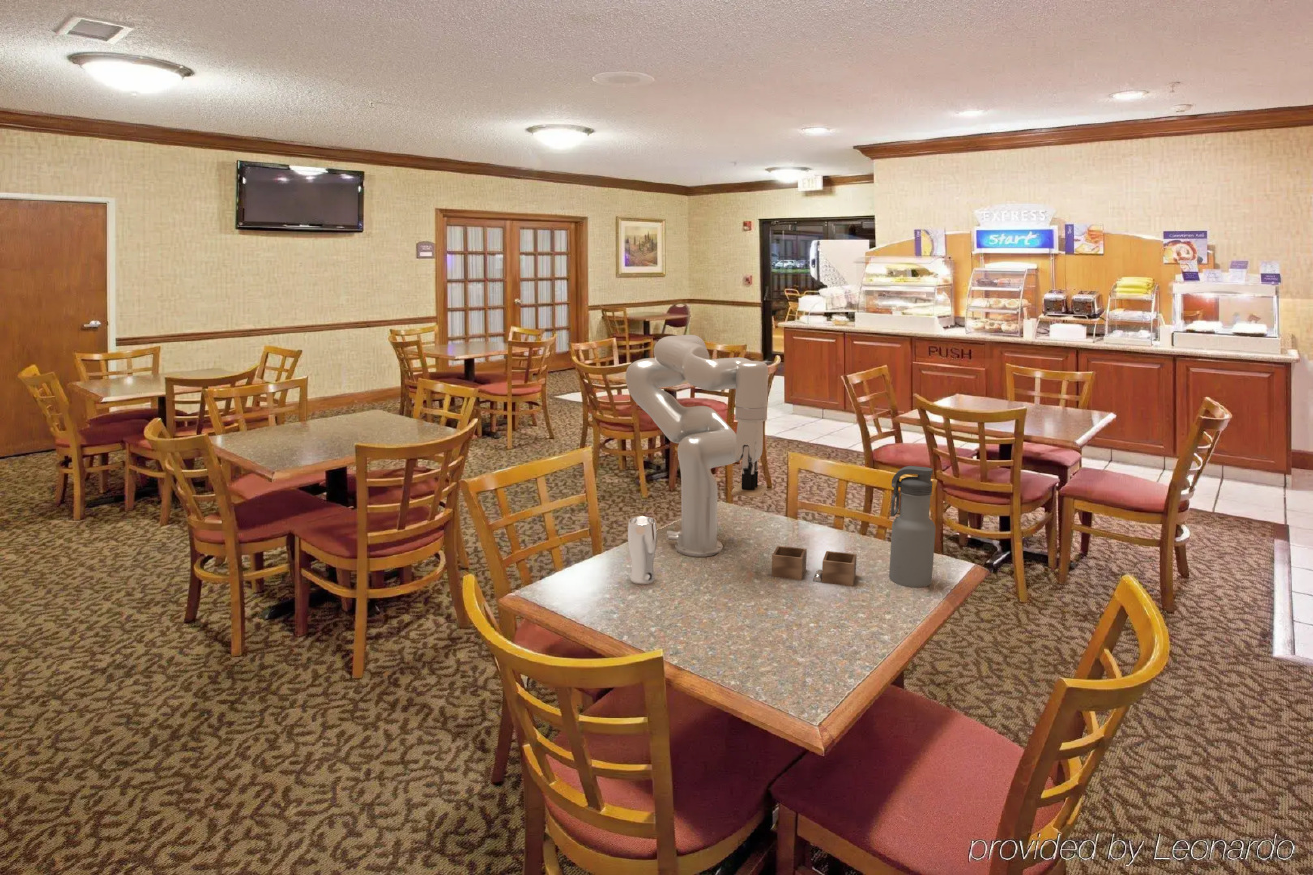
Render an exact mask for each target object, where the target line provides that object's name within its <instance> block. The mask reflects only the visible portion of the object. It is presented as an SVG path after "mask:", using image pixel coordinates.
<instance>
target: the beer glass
mask: <svg viewBox="0 0 1313 875" xmlns="http://www.w3.org/2000/svg"><path fill="white" fill-rule="evenodd" d="M627 526H628V527H627V546H628V552H629V556H630V563H631V573H630V577H629V581H630V582H631V583H633V584H636V585H649V584H652V583H654V582H655V581H656V575H655V569H654V563H655V558H656V557H655V556H656V550H657V544H658V533H657V531H658V530H657V520H656V519H655V518H654V517H650V516H634V517H631V518H629V520H628V525H627Z"/></svg>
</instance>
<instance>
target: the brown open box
mask: <svg viewBox="0 0 1313 875" xmlns="http://www.w3.org/2000/svg"><path fill="white" fill-rule="evenodd" d="M807 551H808V548H803V547H794V546H784V545H777V546H776V548H775V550H774V551H773V553H772V555H771V577H772V578H774V577H775V578H779V579H780V578H781V579H789V580H797V581H802V580H803V578H804V575H805V573H806V571H807V553H808V552H807Z"/></svg>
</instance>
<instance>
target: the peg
mask: <svg viewBox="0 0 1313 875" xmlns="http://www.w3.org/2000/svg"><path fill="white" fill-rule="evenodd" d="M812 582H815V583H816V582H817V583H822V569H817V570H816V572H815V574H814V577H813V580H812Z"/></svg>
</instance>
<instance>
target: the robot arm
mask: <svg viewBox="0 0 1313 875" xmlns="http://www.w3.org/2000/svg"><path fill="white" fill-rule="evenodd" d="M653 356H654V357H648V358H647V357H646V358H641V359H638V360H635V361H633V362H632V363H631V364H629V365H628V367H627V368H626V372H625V382H626V387H627V388H626V389H627V390H628V392H629V395H630V397H631V398H632V399H633V401H634V402H635V403H636V404H637V405H638V406H639V408H641V409H642V411H644V412H645V413H646V414H647V415H648V416H649V417H650V418H651V419H652V421H653V422H654V424H655V425H656V426H657V427H658V428H659V429H660V431H661V432H662V433H663V435H665V437H666V438H667V439H668V440H669V441H670V442H672V443H673V444H674V443H675V444H678V445H677V458H678V463H679V468H680V478H681V480H680V481H681V482H680V483H681V485H680V486H681V489H680V490H681V492H680V493H681V498H680V500H681V502H680V504H681V512H680V513H681V517H680V518H681V519H680V520H681V521H680V522H681V530H678V531H674V530H667V531H666V537H667V538H668V540H669V541H676V543H675V550H676V552H678V553H680V554H681V555H685V556H688V557H699V558H701V557H703V558H704V557H705V558H706V557H711V556H714V555H715V556H716V555H718V554H719V553H720V552H722V551H723V546H724V545H723V543H721V541H719V540H718V483H717V480H716V478H715V477H714V475H713V473H712V471H711V469H714V468H718V467H724V466H729V465H733V464H734V463H736V462H737V463H739V462H740V461H741V460H742V462H741V464H742V465H741V484H742V489H743V490H755V487H757V486H758V485H759V471H758V470H759V459H761V456H762V455H763V448H764V444H763V443H764V422H767V420H768V396H769V395H768V393H769V392H768V387H769V367H768V364H767V363H766V362H764V361H760V360H750V359H748V358H746V357H739V356H737V357H724V358H712V359H710V358H711V357H710V353H709V351H708V349H707V345H706V343H705V341H704V340H703V339H702V337H700V336H698V335H695V334H683V335H682V334H678V335H668V336H664V337H662V338H660V339H659V340H658V341H657V342H656V343H655V345H654V348H653ZM685 382H687V383H688V384H690V386H694V387H696V388H698V389H702V390H703V391H709V392H716V391H723V390H735V409H734V411H735V412H734V413H735V414H734V419H735V421H737V426H736V432H735V430H734V429H732V427H731V426H730V425H729V424H728V423H727V422H726V420H724V418H723V417H721V415H720V414H719V413H718V412H717V411H716V410H715V409H713V408H711V407H710V406H705V405H696V406H684V405H682V404H680V402H679V401H678V400H677V399H676V398H675V397H674V396H673V395H672V394H670V393H669V392H667V391H665V390H663V389H661V388H668V387H678V386H679V385H681V384H683V383H685Z"/></svg>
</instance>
